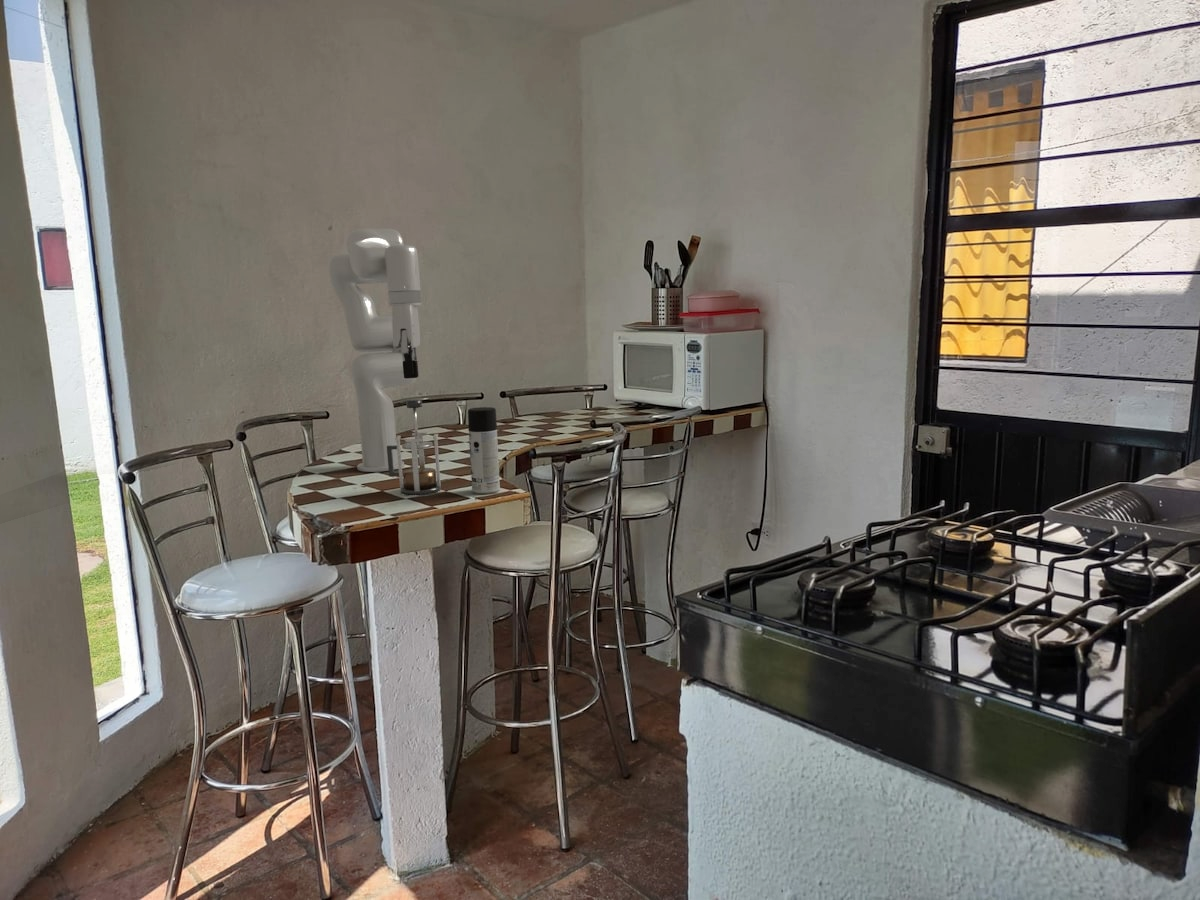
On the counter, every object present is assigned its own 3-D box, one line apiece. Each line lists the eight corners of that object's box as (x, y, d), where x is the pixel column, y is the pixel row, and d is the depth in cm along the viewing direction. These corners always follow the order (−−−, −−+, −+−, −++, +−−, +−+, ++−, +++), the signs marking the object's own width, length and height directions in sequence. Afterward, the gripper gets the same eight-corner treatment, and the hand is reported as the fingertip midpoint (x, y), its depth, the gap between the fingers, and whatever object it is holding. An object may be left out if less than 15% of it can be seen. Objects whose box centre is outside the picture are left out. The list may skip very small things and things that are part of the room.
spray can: (474, 488, 212) (469, 407, 208) (502, 487, 212) (497, 406, 208) (469, 494, 205) (464, 411, 202) (498, 494, 205) (493, 410, 201)
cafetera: (394, 487, 216) (390, 433, 213) (443, 485, 216) (439, 431, 214) (387, 496, 206) (382, 440, 204) (437, 494, 207) (433, 438, 204)
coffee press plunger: (405, 444, 213) (401, 399, 210) (434, 443, 213) (431, 397, 211) (399, 449, 205) (395, 402, 203) (430, 448, 206) (426, 401, 204)
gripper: (395, 300, 210) (401, 376, 213) (382, 300, 196) (389, 381, 199) (426, 299, 211) (432, 374, 214) (415, 298, 196) (421, 379, 199)
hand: (411, 377), depth 206 cm, fingers closed
